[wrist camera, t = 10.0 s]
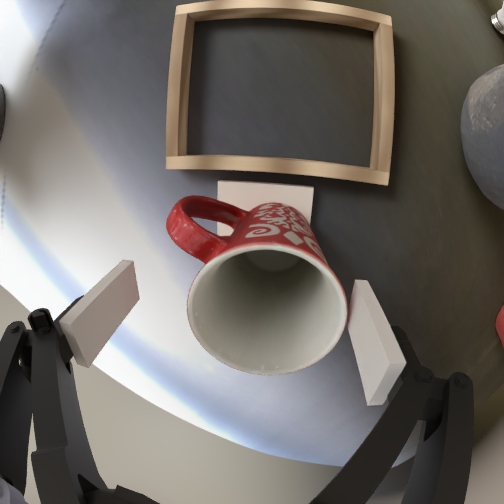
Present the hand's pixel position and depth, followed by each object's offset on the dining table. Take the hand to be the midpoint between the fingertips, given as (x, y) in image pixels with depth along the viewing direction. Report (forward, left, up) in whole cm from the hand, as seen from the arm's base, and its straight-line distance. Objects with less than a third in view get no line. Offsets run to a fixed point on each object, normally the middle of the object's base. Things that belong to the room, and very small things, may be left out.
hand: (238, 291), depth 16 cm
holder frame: (+1, +14, -13) cm, 20 cm away
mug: (0, 0, -12) cm, 12 cm away
